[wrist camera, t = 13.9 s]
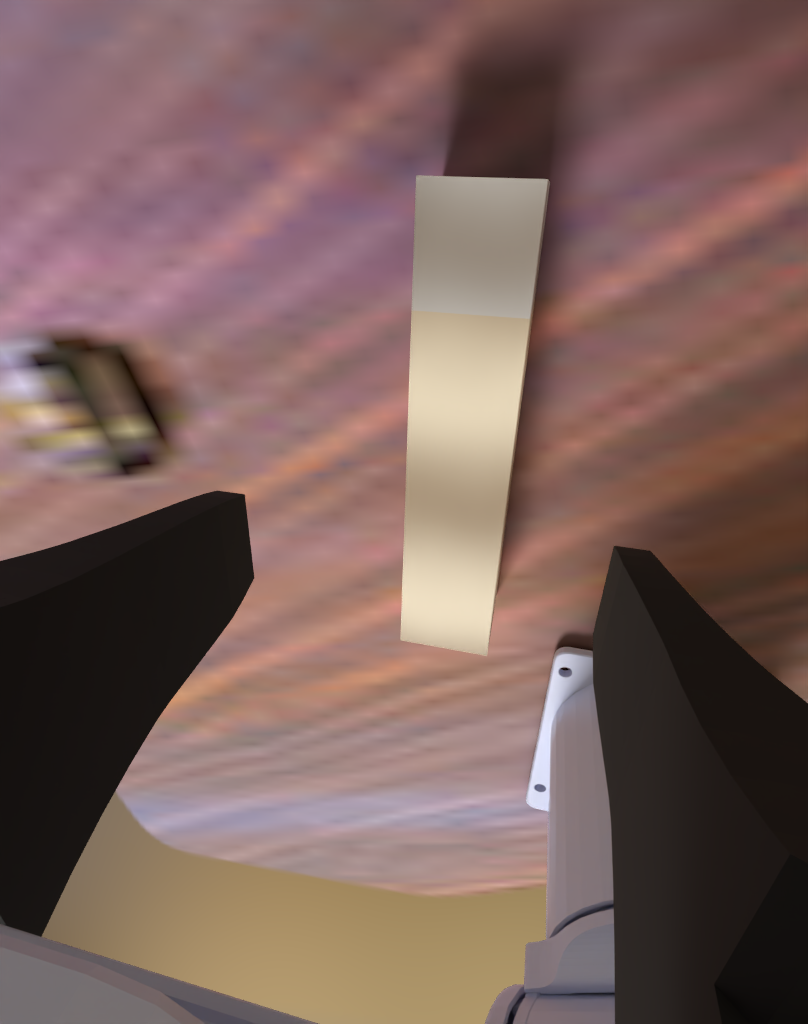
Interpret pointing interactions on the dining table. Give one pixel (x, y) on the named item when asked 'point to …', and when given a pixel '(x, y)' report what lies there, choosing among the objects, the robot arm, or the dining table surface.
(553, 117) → the dining table surface
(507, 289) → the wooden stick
